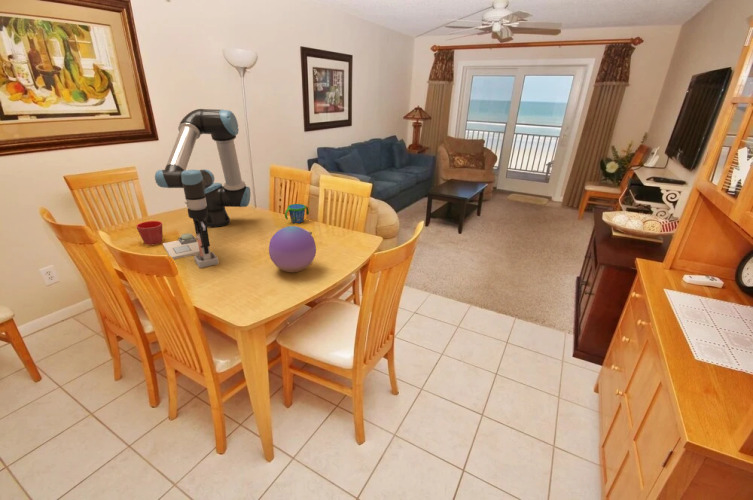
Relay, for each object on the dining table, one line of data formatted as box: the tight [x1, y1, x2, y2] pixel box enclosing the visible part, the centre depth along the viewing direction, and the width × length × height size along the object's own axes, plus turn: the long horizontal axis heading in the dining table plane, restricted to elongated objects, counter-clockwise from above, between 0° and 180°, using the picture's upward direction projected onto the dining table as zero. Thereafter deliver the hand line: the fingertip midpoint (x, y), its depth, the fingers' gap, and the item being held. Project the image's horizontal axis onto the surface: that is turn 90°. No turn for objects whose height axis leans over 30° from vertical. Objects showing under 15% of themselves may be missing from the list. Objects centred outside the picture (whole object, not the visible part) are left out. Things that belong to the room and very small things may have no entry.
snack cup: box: [284, 203, 310, 224], centre depth 208 cm, size 16×10×10 cm
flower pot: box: [135, 220, 164, 246], centre depth 171 cm, size 11×11×10 cm
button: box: [180, 232, 193, 240], centre depth 172 cm, size 5×5×2 cm
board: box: [162, 234, 200, 260], centre depth 166 cm, size 14×20×3 cm
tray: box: [193, 251, 220, 269], centre depth 154 cm, size 8×8×3 cm
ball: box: [268, 225, 317, 273], centre depth 148 cm, size 20×20×20 cm
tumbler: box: [195, 233, 211, 261], centre depth 151 cm, size 4×4×12 cm
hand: (205, 257), depth 153 cm, fingers closed on tumbler, 4 cm apart
